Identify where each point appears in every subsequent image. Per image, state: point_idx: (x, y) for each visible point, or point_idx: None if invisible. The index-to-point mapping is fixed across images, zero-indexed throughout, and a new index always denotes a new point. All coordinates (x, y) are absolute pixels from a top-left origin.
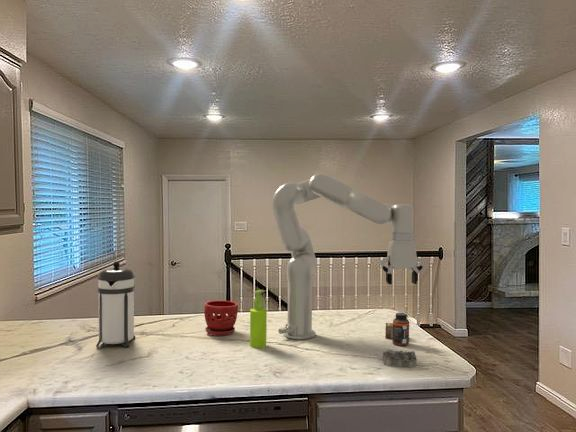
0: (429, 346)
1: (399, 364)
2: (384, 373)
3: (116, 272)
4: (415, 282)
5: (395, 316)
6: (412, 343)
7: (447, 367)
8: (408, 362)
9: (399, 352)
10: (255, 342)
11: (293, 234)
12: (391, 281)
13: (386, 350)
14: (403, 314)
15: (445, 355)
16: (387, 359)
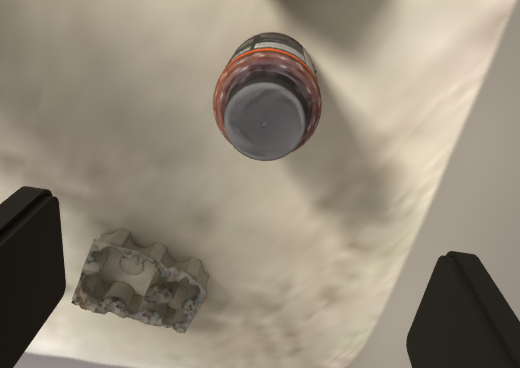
0: (388, 143)
1: (133, 301)
2: (68, 323)
3: None
4: (416, 361)
5: (228, 99)
6: (338, 80)
7: (289, 336)
8: (162, 312)
9: (158, 260)
10: None
11: None
12: (40, 319)
13: (107, 243)
14: (269, 147)
15: (368, 253)
16: (91, 292)
